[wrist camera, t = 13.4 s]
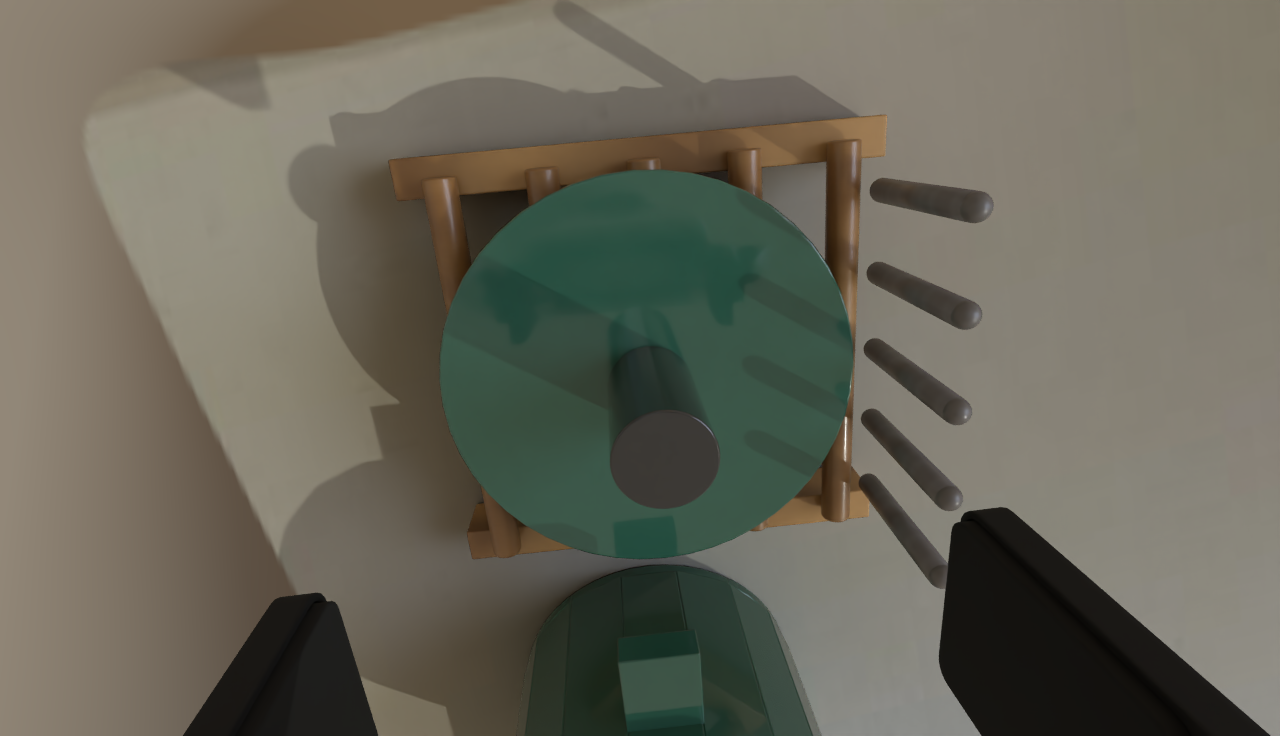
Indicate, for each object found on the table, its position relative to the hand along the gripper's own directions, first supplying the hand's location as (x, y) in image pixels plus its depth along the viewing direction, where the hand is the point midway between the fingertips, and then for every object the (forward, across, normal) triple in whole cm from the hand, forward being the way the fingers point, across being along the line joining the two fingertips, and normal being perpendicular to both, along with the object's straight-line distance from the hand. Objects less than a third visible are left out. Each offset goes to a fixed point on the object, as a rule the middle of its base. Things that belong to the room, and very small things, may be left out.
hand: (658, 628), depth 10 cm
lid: (+11, -1, 0) cm, 11 cm away
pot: (+14, 0, +16) cm, 21 cm away
